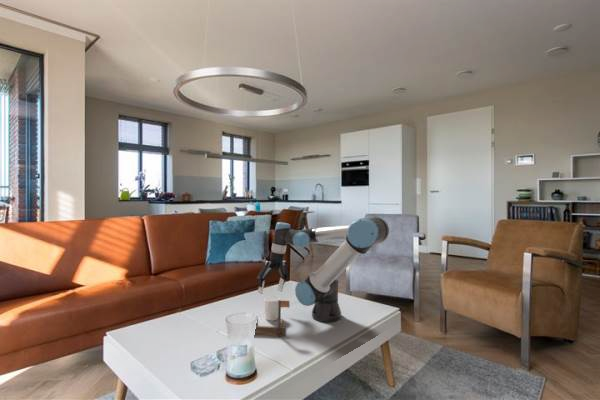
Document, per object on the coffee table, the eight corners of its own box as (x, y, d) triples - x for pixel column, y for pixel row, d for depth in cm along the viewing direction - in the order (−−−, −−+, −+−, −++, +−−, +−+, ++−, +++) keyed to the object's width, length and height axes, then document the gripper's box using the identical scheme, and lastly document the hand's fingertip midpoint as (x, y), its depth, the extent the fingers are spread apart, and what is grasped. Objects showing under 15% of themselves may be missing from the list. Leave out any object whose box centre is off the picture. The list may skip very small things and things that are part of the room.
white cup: (282, 316, 166) (282, 297, 166) (276, 322, 159) (276, 302, 159) (268, 314, 169) (268, 295, 169) (261, 320, 161) (261, 300, 161)
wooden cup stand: (250, 324, 155) (250, 291, 155) (291, 326, 154) (291, 293, 154) (244, 335, 144) (244, 299, 143) (289, 337, 142) (289, 301, 142)
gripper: (290, 250, 179) (283, 287, 179) (254, 249, 161) (246, 291, 161) (299, 254, 173) (292, 292, 174) (264, 253, 156) (255, 296, 156)
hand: (270, 292), depth 167 cm, fingers open, 13 cm apart
